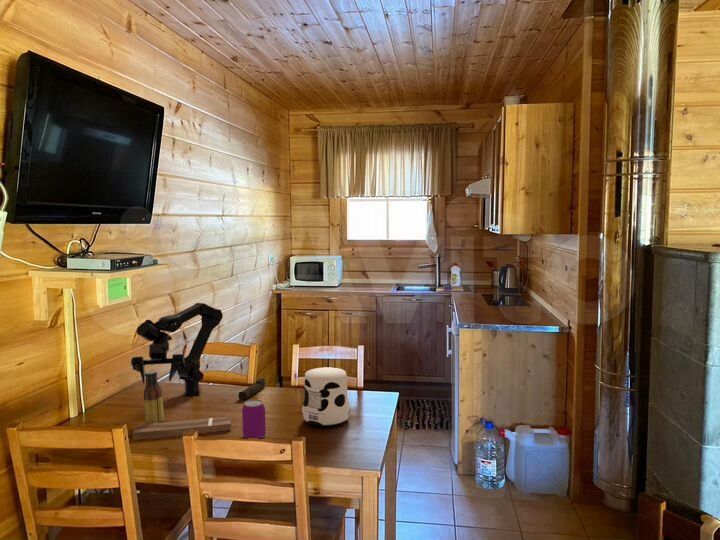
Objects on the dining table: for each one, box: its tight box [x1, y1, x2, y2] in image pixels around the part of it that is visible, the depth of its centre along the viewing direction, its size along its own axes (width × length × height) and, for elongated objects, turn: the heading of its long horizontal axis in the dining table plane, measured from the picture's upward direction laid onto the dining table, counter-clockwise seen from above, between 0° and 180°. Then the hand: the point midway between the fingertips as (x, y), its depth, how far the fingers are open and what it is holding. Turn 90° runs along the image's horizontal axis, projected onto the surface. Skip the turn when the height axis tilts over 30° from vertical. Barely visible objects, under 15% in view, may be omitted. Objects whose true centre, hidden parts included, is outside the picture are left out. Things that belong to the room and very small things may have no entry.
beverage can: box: [241, 398, 267, 439], centre depth 177 cm, size 8×8×12 cm
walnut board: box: [132, 416, 232, 441], centre depth 182 cm, size 7×32×3 cm, turn 103°
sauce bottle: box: [143, 370, 165, 424], centre depth 187 cm, size 7×6×20 cm
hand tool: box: [238, 377, 266, 401], centre depth 222 cm, size 19×4×5 cm, turn 159°
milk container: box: [301, 366, 351, 427], centre depth 190 cm, size 17×17×18 cm
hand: (156, 381), depth 195 cm, fingers open, 9 cm apart
